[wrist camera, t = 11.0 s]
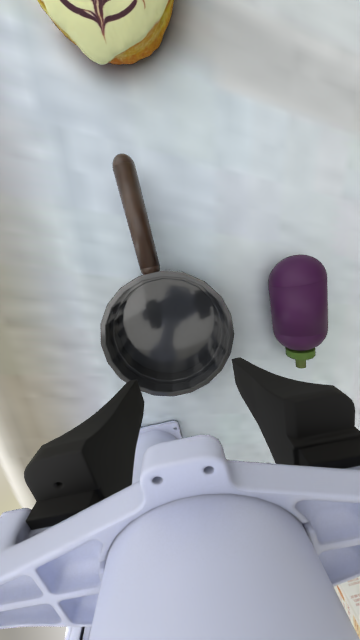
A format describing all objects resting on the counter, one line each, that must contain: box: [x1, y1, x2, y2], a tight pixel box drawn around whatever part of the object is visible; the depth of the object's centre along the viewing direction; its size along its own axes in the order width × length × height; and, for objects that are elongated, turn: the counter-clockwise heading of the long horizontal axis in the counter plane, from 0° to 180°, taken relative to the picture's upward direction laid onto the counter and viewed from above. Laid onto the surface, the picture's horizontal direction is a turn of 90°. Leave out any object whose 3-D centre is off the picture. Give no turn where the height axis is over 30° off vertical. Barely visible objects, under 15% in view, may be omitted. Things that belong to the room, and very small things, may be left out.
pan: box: [101, 270, 234, 396], centre depth 21 cm, size 13×13×4 cm
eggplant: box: [269, 255, 328, 368], centre depth 20 cm, size 12×5×5 cm, turn 13°
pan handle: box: [113, 154, 160, 275], centre depth 17 cm, size 10×2×2 cm, turn 13°
